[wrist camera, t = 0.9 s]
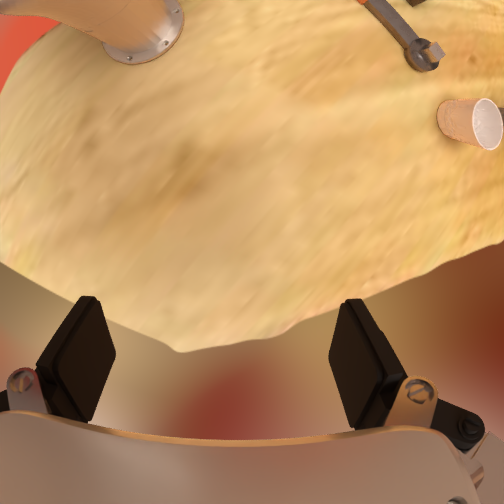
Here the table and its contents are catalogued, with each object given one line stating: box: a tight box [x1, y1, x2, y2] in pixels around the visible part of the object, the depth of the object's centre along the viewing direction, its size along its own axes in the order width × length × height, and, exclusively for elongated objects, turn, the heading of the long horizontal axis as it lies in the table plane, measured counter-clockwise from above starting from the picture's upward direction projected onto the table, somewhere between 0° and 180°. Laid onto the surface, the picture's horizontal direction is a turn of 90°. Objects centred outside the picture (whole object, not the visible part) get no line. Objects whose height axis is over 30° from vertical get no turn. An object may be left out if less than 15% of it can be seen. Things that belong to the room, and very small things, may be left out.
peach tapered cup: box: [437, 98, 503, 150], centre depth 33 cm, size 8×8×10 cm
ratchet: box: [357, 0, 446, 72], centre depth 28 cm, size 23×6×6 cm, turn 46°
